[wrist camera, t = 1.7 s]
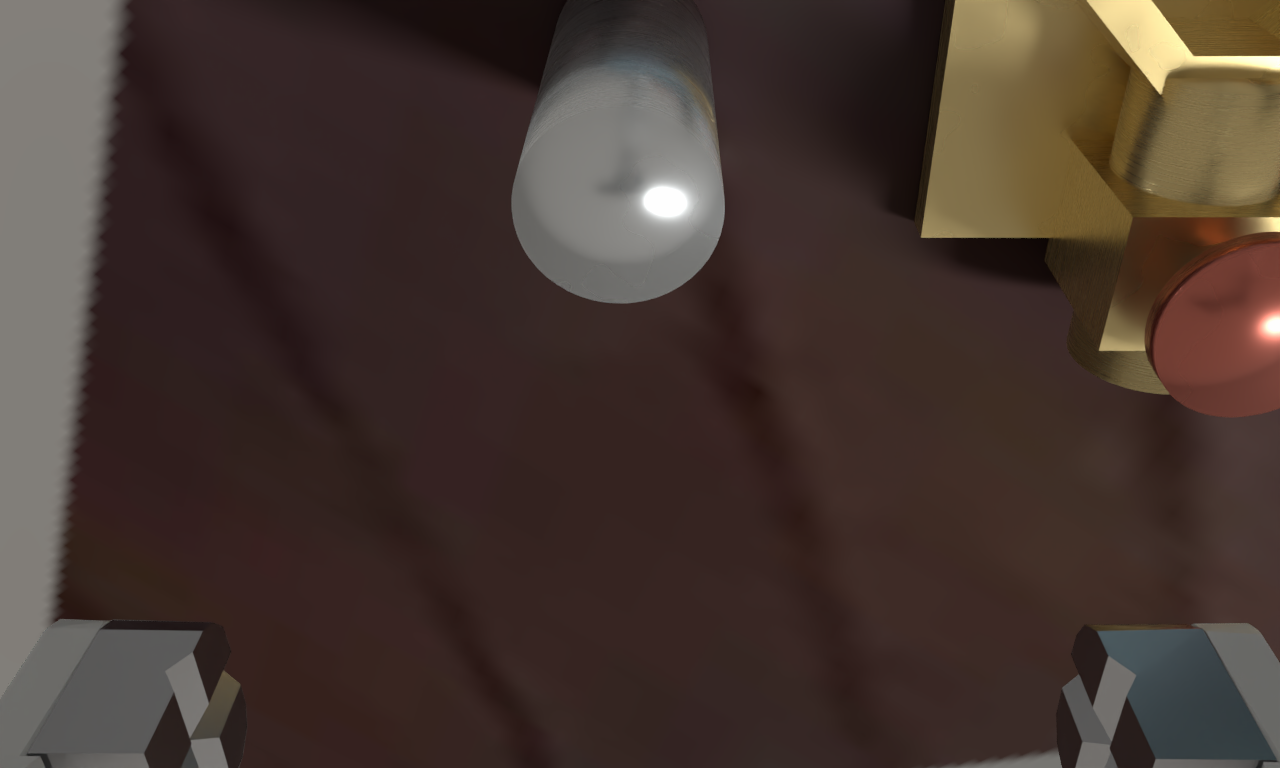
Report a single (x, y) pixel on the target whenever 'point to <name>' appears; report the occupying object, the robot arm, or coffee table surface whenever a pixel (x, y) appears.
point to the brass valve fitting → (1125, 178)
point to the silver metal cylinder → (622, 152)
